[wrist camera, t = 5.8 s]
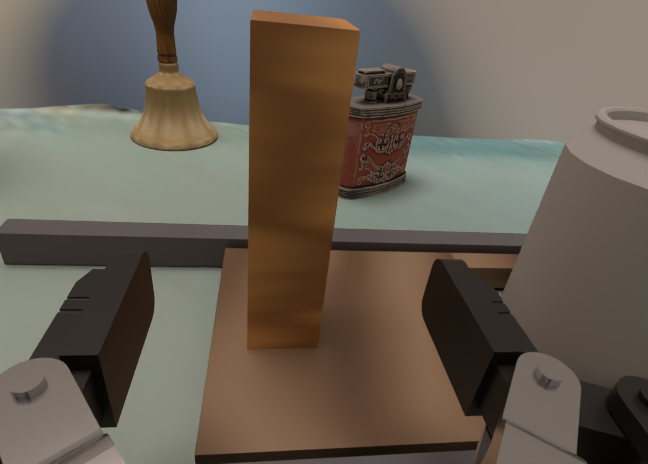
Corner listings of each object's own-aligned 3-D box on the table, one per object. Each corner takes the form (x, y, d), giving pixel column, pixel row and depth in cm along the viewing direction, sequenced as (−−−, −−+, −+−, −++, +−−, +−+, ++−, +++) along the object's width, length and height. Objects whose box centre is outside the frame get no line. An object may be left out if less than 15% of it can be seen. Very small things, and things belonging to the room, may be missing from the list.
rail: (598, 259, 30) (611, 236, 29) (862, 494, 17) (903, 466, 16) (18, 248, 25) (8, 218, 24) (-283, 589, 11) (-336, 555, 10)
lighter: (385, 169, 41) (406, 59, 35) (412, 183, 39) (439, 68, 33) (322, 187, 36) (336, 63, 31) (349, 203, 34) (369, 73, 29)
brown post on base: (592, 274, 28) (715, 49, 21) (773, 445, 18) (1132, 128, 11) (225, 269, 25) (219, -4, 17) (197, 480, 15) (152, 38, 7)
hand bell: (127, 151, 38) (95, -63, 30) (133, 122, 45) (109, -60, 36) (221, 150, 41) (216, -48, 32) (214, 123, 47) (208, -48, 39)
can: (482, 366, 21) (588, 125, 14) (497, 284, 27) (577, 88, 20) (659, 435, 18) (877, 184, 12) (632, 328, 24) (769, 123, 18)
